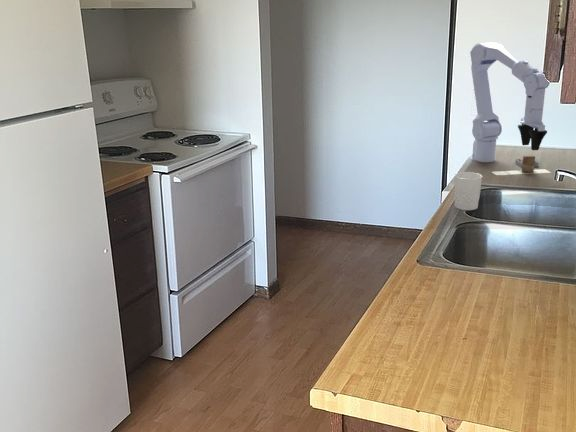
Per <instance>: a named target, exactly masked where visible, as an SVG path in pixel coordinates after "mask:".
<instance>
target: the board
mask: <svg viewBox="0 0 576 432" xmlns="http://www.w3.org/2000/svg"><path fill="white" fill-rule="evenodd" d="M491 173H492V174H493V175H495V176H509V175H511V176H512V175H513V176H514V175H529V174H530V175H531V174H532V175H533V174H551V173H552V172H551V171H549V170H548V169H546V168H544V169H542V168H541V169H534V172H533V173H523V172H522V169H520V170H519V169H518V170H505V171H504V170H503V171H502V170H500V171H491Z"/></svg>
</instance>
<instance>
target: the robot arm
mask: <svg viewBox="0 0 576 432" xmlns="http://www.w3.org/2000/svg"><path fill="white" fill-rule="evenodd" d="M469 54H470V61H471V66H470V67H471V76H472V85H473V91H474V98H475V104H476V105H475V107H476V111H477V115H476V116H475V117H474V119H473V120H472V129H471V130H472V131H471V132H472V133H471V134H472V136H473V137H474V141H473V143H472V155H471V156H472V157H469V159H470V160H472V161H473V160H474V161H475V162H479V163H493V162H495V161H496V160H495V159H496V150H497V140H498V139H499V136H500V135H501V134H502V131H503V128H502V124H501V122H500V119H499V116H498V115H497V114H495V113H494V111H493V105H492V104H493V103H492V96H491V89H490V82H489V74H488V70H489V68H490V67H491V66H492V65H493V64H495V62H497V61H498V62H500V63H501V64H503V65H504V66H506V67H507V68H509V69H510V70H511V74H512V75H513V76H514V77H515V78H517V79H518V80H519V81H521V82H522V83H523V86H524V89H525V94H526V99H525V105H524V106H525V107H524V108H525V109H524V117H521V118H520V124H518V125H517V129H518V130H519V134H520V138H521V143H522V144H521V145H522V146H529V145H530V147H531V151H539V149H540V146H541V144H542V141H543V139H544V138H545V136H546V135H547V134H548V130H546V125H545V124H544V122H543V113H544V105H545V95H546V89H547V88H548V87H549V85H550V83H551V82H550V83H549V82H548V81H547V80H546V79H545V77H544V75H543V72H544V71H539V70H538V68H537V67H533V66H532V65H531V64H529V63H530V62H529V61H528V60H518V59H517V58H516V57H515V56H513V55H512V54H511V53H510V52H509V51H508V50H506V49H505V46H504V44H503V45H502V44H501V43H500V42H499V41H494V42H484V43H481V42H480V43H478V42H477V43H476V44H474V45H473V47H472V48H471V50H470V53H469Z"/></svg>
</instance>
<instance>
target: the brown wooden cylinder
mask: <svg viewBox="0 0 576 432" xmlns="http://www.w3.org/2000/svg"><path fill="white" fill-rule="evenodd" d="M522 158H523V162H522V167H521V170H522V172H523V173H533V172H535V171H534V170H535V167H534V164H535V161H536V156H534V155H529V154H527V155H523V156H522ZM522 172H521V173H522ZM523 173H522V174H523Z"/></svg>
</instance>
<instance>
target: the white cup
mask: <svg viewBox="0 0 576 432" xmlns="http://www.w3.org/2000/svg"><path fill="white" fill-rule="evenodd" d="M482 182H483V175H482V174H481V173H478V172H472V171H462V172H461V171H460V172H456V173H455V174H454V207H455V208H456V209H458V210H461V211H474V210H477V209H478V207H479V200H480V195H481V189H482V188H481V187H482Z"/></svg>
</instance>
